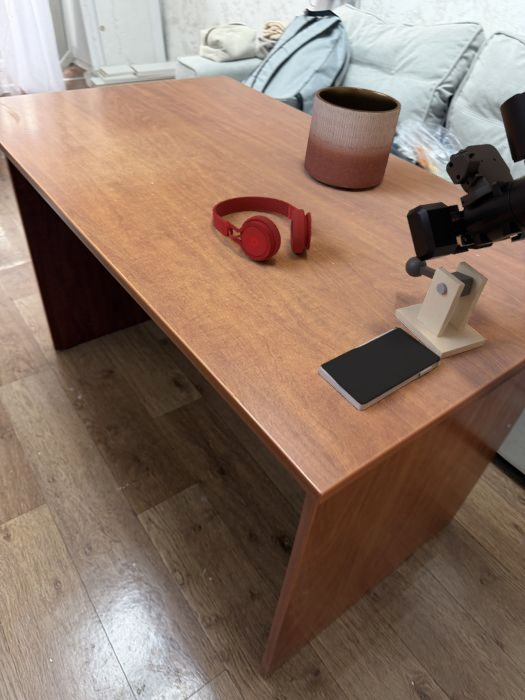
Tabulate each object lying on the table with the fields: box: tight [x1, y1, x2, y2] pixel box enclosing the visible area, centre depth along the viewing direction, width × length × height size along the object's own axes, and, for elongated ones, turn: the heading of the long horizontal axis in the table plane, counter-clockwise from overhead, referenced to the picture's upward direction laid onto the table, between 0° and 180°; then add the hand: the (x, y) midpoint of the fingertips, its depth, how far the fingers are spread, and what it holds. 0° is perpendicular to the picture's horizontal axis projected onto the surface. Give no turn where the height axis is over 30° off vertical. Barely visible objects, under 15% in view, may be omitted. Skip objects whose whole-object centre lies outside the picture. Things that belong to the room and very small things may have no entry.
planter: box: [303, 85, 402, 190], centre depth 103 cm, size 18×18×16 cm
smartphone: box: [318, 326, 441, 411], centre depth 63 cm, size 8×1×15 cm
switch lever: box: [404, 255, 473, 297], centre depth 68 cm, size 11×3×3 cm, turn 26°
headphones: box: [212, 195, 312, 261], centre depth 84 cm, size 15×7×20 cm
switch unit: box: [394, 261, 489, 360], centre depth 67 cm, size 10×8×10 cm
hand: (429, 242), depth 67 cm, fingers closed
